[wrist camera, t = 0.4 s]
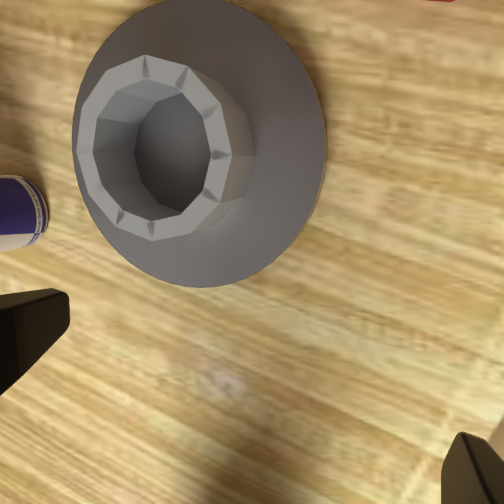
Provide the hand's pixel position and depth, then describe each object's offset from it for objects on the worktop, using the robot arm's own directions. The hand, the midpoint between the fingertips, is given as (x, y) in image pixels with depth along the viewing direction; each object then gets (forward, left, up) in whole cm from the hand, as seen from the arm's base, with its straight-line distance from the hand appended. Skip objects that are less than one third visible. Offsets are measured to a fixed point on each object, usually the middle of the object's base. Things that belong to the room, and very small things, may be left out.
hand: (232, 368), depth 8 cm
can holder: (+2, +9, -14) cm, 17 cm away
